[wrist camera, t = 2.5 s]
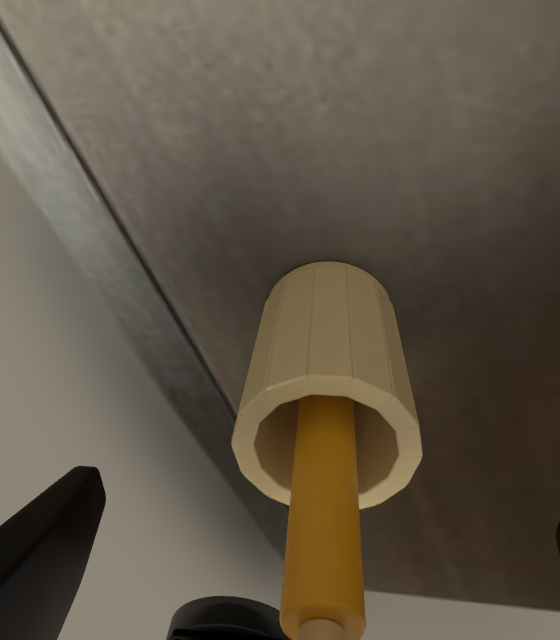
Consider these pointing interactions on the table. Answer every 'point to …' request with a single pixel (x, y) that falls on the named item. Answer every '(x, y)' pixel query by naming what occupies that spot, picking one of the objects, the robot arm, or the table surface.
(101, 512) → the robot arm
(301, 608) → the pencil
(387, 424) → the pencil cup
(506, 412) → the table surface
